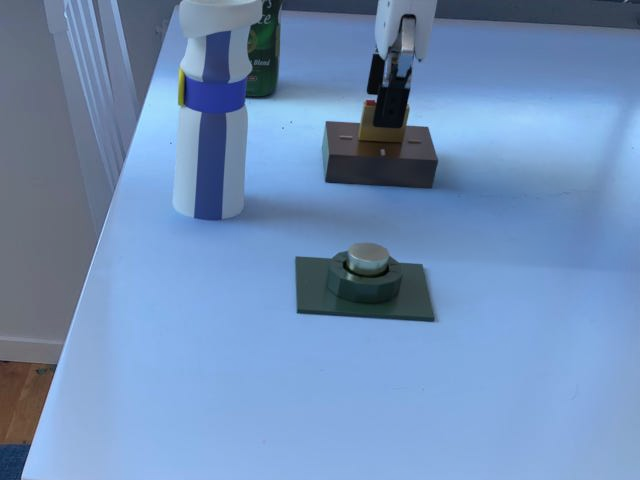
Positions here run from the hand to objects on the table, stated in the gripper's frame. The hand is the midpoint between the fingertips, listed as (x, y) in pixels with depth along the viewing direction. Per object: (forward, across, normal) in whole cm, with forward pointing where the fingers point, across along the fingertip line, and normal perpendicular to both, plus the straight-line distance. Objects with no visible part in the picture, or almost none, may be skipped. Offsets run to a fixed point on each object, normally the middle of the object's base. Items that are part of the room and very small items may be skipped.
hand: (383, 110), depth 105 cm
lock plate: (+6, 0, 0) cm, 6 cm away
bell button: (+2, -33, +4) cm, 33 cm away
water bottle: (+6, -13, +19) cm, 24 cm away
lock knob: (+3, 0, 0) cm, 3 cm away
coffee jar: (+7, +24, +16) cm, 29 cm away
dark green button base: (+6, -33, +4) cm, 34 cm away
